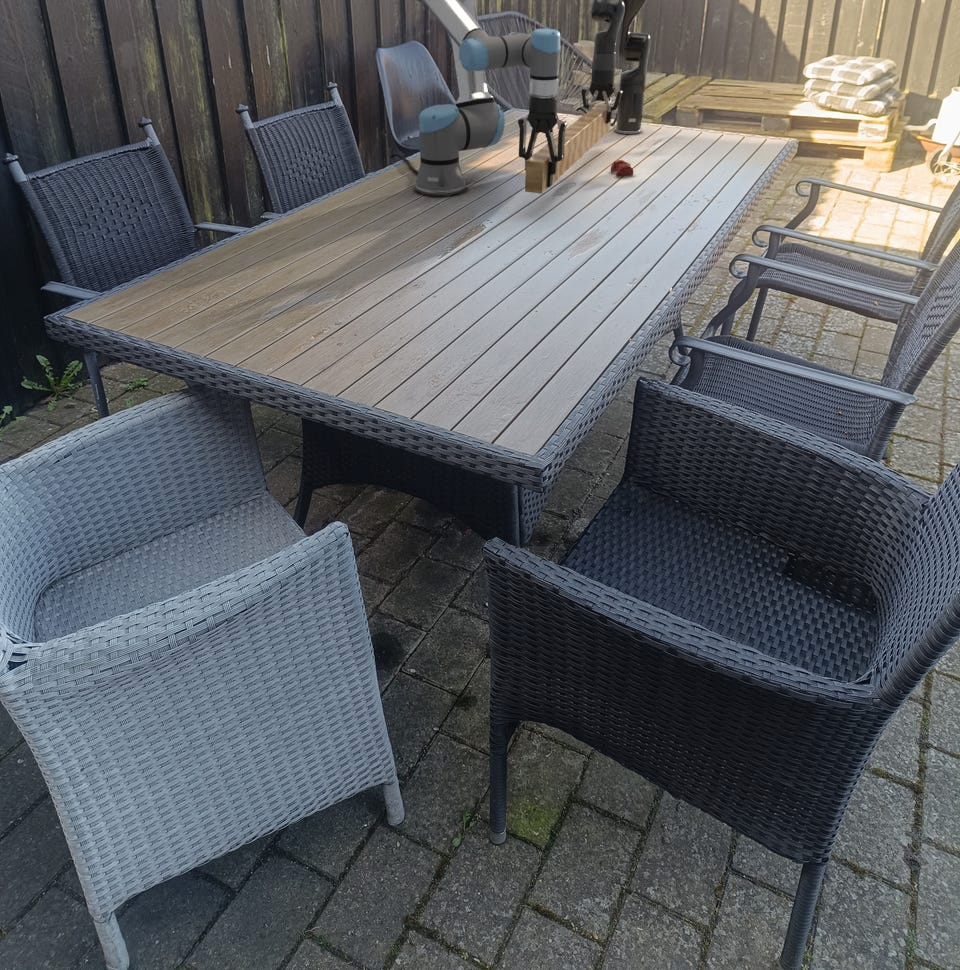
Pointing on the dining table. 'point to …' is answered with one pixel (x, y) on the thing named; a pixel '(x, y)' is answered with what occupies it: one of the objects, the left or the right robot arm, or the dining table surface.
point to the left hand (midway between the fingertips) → (540, 184)
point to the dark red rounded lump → (622, 168)
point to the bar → (567, 148)
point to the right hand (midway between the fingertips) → (599, 122)
